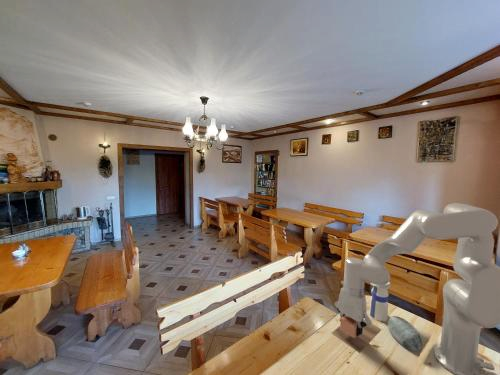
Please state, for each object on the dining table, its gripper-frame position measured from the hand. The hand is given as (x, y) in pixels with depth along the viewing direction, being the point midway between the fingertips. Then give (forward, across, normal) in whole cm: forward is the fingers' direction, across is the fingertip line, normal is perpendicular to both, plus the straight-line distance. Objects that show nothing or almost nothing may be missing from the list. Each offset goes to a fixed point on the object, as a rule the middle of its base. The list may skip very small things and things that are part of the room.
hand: (350, 329), depth 88 cm
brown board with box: (+5, 0, +5) cm, 7 cm away
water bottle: (+5, +1, +23) cm, 24 cm away
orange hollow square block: (+1, 0, 0) cm, 1 cm away
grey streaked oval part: (+5, +14, +17) cm, 23 cm away
